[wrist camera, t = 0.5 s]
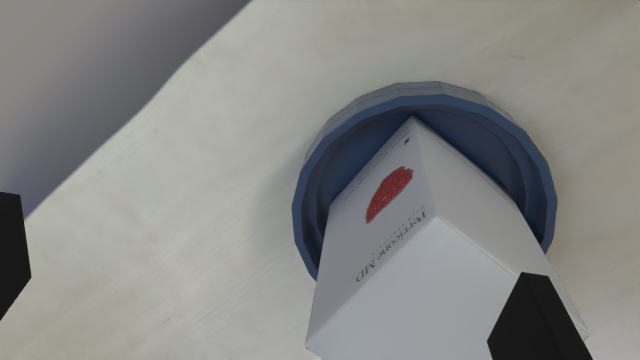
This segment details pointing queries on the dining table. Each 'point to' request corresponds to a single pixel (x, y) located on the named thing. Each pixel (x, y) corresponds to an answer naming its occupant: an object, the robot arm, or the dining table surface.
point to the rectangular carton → (421, 257)
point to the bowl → (449, 122)
